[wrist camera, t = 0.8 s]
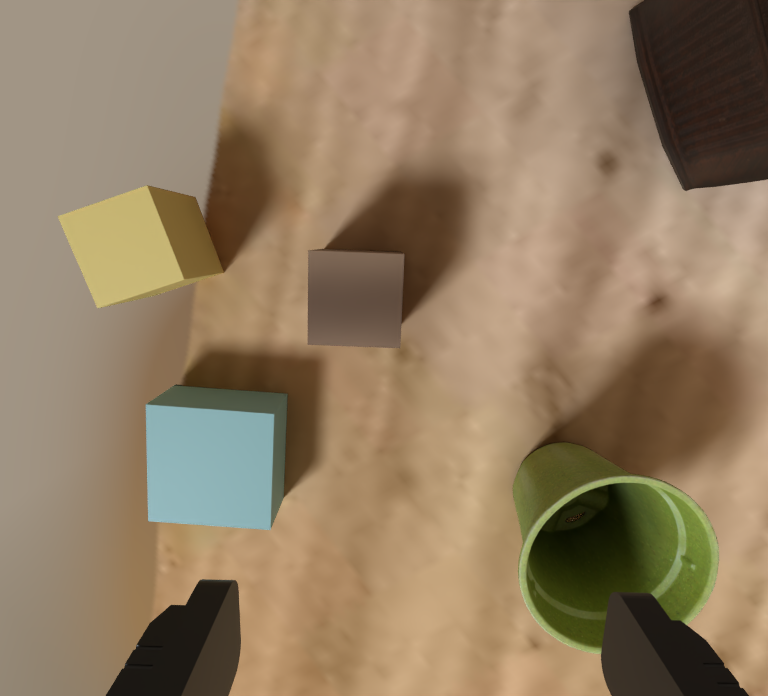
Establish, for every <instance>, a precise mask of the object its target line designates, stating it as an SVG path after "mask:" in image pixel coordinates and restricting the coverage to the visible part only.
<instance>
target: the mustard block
mask: <svg viewBox="0 0 768 696" xmlns="http://www.w3.org/2000/svg"><path fill="white" fill-rule="evenodd" d="M58 218H59V220H60V223H61V225H62V227H63V230H64V232H65V234H66V237H67V239H68V241H69V244H70V246H71V248H72V250H73V253H74V255H75V257H76V260H77V262H78V264H79V267H80V269H81V271H82V274H83V276H84V278H85V280H86V283H87V285H88V287H89V290H90V292H91V294H92V296H93V299H94V301H95V303H96V306H97V308H102V307H106V306H111V305H115V304H119V303H124V302H129V301H133V300H138V299H142V298H146V297H151V296H155V295H158V294H161V293H164V292H167V291H170V290H173V289H176V288H179V287H182V286H185V285H188V284H191V283H194V282H197V281H200V280H203V279H206V278H209V277H212V276H215V275H218V274H221V273H224V271H223V269H222V266H221V263H220V261H219V258H218V256H217V253H216V250H215V248H214V245H213V242H212V240H211V237H210V235H209V232H208V229H207V227H206V224H205V221H204V219H203V216H202V213H201V210H200V208H199V205H198V203H197V200H196V198H195V197H193V196H188V195H184V194H180V193H176V192H172V191H168V190H164V189H160V188H156V187H152V186H148V185H147V186H144V187H141V188H138V189H135V190H132V191H129V192H127V193H124V194H121V195H118V196H115V197H112V198H110V199H107V200H104V201H101V202H98V203H95V204H92V205H89V206H86V207H83V208H81V209H78V210H75V211H72V212H69V213H66V214H63V215H61V216H58Z"/></svg>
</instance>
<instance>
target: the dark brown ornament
mask: <svg viewBox="0 0 768 696" xmlns="http://www.w3.org/2000/svg"><path fill="white" fill-rule="evenodd" d="M629 16H630V22H631V28H632V34H633V40H634V46H635V52H636V58H637V63H638V67H639V70H640V73H641V77H642V80H643V83H644V87H645V90H646V93H647V97H648V100H649V104H650V107H651V110H652V113H653V117H654V120H655V123H656V127H657V130H658V133H659V136H660V140H661V143H662V146H663V148H664V150H665V152H666V154H667V157H668V159H669V161H670V163H671V165H672V167H673V169H674V171H675V173H676V175H677V177H678V179H679V182H680V184H681V186H682V188H683V189H684V190H685V191H687V190H690V189H694V188H705V187H716V186H724V185H732V184H739V183H747V182H753V181H760V180H766V179H768V0H644V1H643V2H642V3H640V4H639V5H637V6H636V7H634V8H633V9H631V10H630V11H629Z"/></svg>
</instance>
